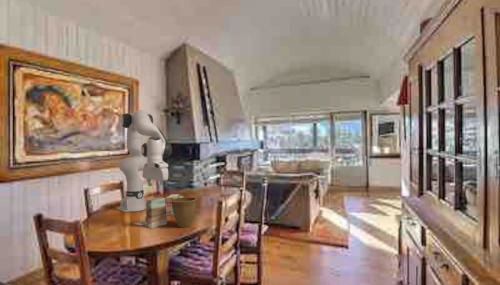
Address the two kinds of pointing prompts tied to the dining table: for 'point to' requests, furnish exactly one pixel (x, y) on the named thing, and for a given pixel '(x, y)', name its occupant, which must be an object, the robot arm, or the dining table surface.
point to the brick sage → (155, 203)
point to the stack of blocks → (169, 205)
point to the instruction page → (140, 223)
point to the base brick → (155, 221)
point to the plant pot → (184, 210)
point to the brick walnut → (155, 212)
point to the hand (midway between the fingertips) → (155, 186)
